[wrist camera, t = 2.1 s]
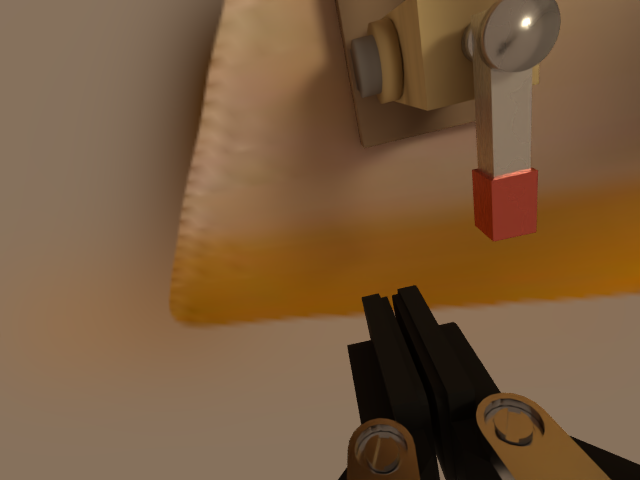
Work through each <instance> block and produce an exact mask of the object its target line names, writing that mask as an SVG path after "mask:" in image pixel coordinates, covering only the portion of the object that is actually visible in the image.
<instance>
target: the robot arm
mask: <svg viewBox="0 0 640 480" xmlns="http://www.w3.org/2000/svg"><path fill="white" fill-rule="evenodd" d="M392 300H393V305H394V311H395V315H394V313H393V310H392V308H391V305H390V303H389V300H388V298H387V297H382V298H381V297H380V295H379V293H378V294H374V295H370V296H365V297H362V302H363V306H364V311H365V316H366V320H367V325H368V329H369V333H370V338H371V340H369V341H365V342H360V343H356V344H351V345H348V353H349V358H350V364H351V370H352V375H353V380H354V386H355V391H356V398H357V403H358V409H359V414H360V420H361V425H360V426H359V427H358V428H357V429H356V430H355V431H354V433H353V434H352V436H351V438H350V440H349V445H348V456H347V468H346V470H345V471H344V472H343V474H342V475H341V476H340V478H339V479H338V480H440V477H439V470H438V464H437V458H438V460H439V462H440V465H441V468H442V471H443V474H444V477H445V479H446V480H640V465H639V464H637V463H634V462H632V461H629V460H627V459H625V458H622V457H620V456H617V455H615V454H612V453H610V452H608V451H605V450H603V449H600V448H598V447H596V446H593V445H591V444H588V443H586V442H584V441H581V440H579V439H576V438H574V437H572V436H569V435H568V434H567V433H566V432H565V431H564V430H563V429H562V428H561V427H560V426H559V425H558V424H557V423H556V422H555V421H554V419H552V417H550V415H549V414H548V413H547V412H546V411H545V410H544V409H543V408H542V407H540V406H539V405H538V404H537V403H535V402H534V401H532V400H530V399H528V398H526V397H524V396H521V395H517V394H513V393H501V392H500V391H499V389H498V388H497V386H496V385H495V383H494V382H493V380H492V378H491V377H490V375H489V374H488V372H487V370H486V369H485V367H484V366H483V364H482V363H481V361H480V360H479V358H478V357H477V355H476V353H475V352H474V350H473V349H472V347H471V346H470V344H469V343H468V341H467V340H466V338H465V336H464V335H463V333H462V332H461V330H460V329H459V327H458V326H457V324H456V323H454V322H451V323H447V324H443V325H438V323H437V321H436V320H435V318H434V316H433V314H432V313H431V311H430V309H429V307H428V306H427V304H426V302H425V300H424V298H423V297H422V295H421V293H420V291H419V290H418V288H417V286H416V285H414V286H409V287H405V288H401V289H398V294H396V295H392ZM395 317H396V318H395ZM436 455H437V457H436Z"/></svg>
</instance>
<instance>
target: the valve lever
mask: <svg viewBox="0 0 640 480" xmlns="http://www.w3.org/2000/svg"><path fill="white" fill-rule="evenodd" d="M559 29H560V11H559V8H558V5H557V3H556V1H555V0H497V1H496V2H495V3H494V4H493V5H492V6H491V7H490V8H489V9H488V10H485V11H483V12H480V13H477V14H474V15H472V16H471V23H470V24H469V25H468V26H467V27H466V29H465V31H464V33H463V36H462V40H461V48H462V52H463V54H464V56H465V57H466V58H467V59H468V60H469V61H471V62H473V73H474V94H475V116H476V138H477V159H478V169H474V170H472V178H473V197H474V215H475V226H476V227H477V228H479V229H480V230H481V231H482V232H483V233H484V234H485V235H486V236H488V237H489V238H490V239H491V240H492V241H498V240H503V239H507V238H512V237H516V236H521V235H525V234H530V233H534V232H536V225H537V187H538V170H536V169H534V168H531V117H532V67H534V66H536V65H537V64H538V63H540V62H541V61H542V60H543V59H544V58H545V57H546V56H547V55H548V54H549V52H550V51H551V49H552V48H553V46H554V44H555V42H556V40H557V37H558V34H559Z"/></svg>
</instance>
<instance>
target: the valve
mask: <svg viewBox="0 0 640 480" xmlns="http://www.w3.org/2000/svg"><path fill="white" fill-rule="evenodd" d="M496 1H497V0H335V2H336V8H337V13H338V19H339V24H340V30H341V35H342V41H343V47H344V52H345V58H346V63H347V69H348V74H349V80H350V85H351V91H352V96H353V102H354V107H355V113H356V118H357V124H358V130H359V135H360V141H361V145H362V146H363V147H364V148H367V147H371V146H375V145H379V144H383V143H387V142H391V141H396V140H400V139H404V138H408V137H412V136H416V135H420V134H424V133H429V132H433V131H437V130H441V129H445V128H449V127H453V126H458V125H462V124H466V123H470V122H474V121H476V116H475V94H474V73H473V62H471V61H469V60H468V59H467V58H466V57H465V56H464V54H463V52H462V48H461V40H462V36H463V33H464V31H465V29H466V27H467V26H468V25H469V24H470V23H471V16H472V15H474V14H477V13H480V12H483V11H485V10H488V9H489V8H490V7H491V6H492V5H493V4H494V3H495V2H496ZM535 84H539V63H538V64H537V65H536V66H534V67H532V85H535Z"/></svg>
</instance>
